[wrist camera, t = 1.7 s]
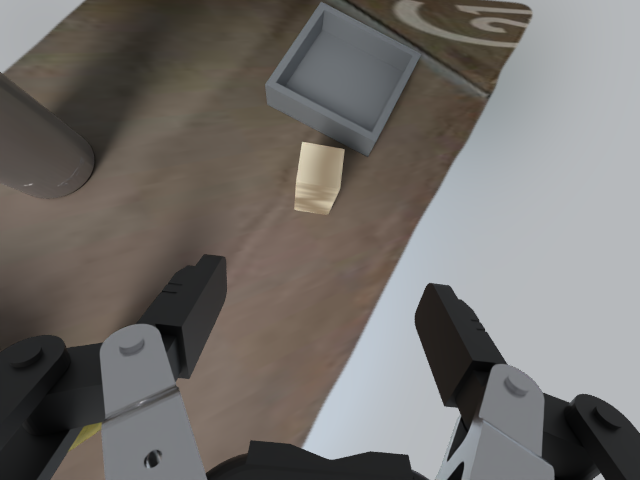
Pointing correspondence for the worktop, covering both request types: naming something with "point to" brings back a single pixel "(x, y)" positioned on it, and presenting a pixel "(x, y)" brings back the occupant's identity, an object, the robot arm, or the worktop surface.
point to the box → (341, 78)
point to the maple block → (318, 178)
